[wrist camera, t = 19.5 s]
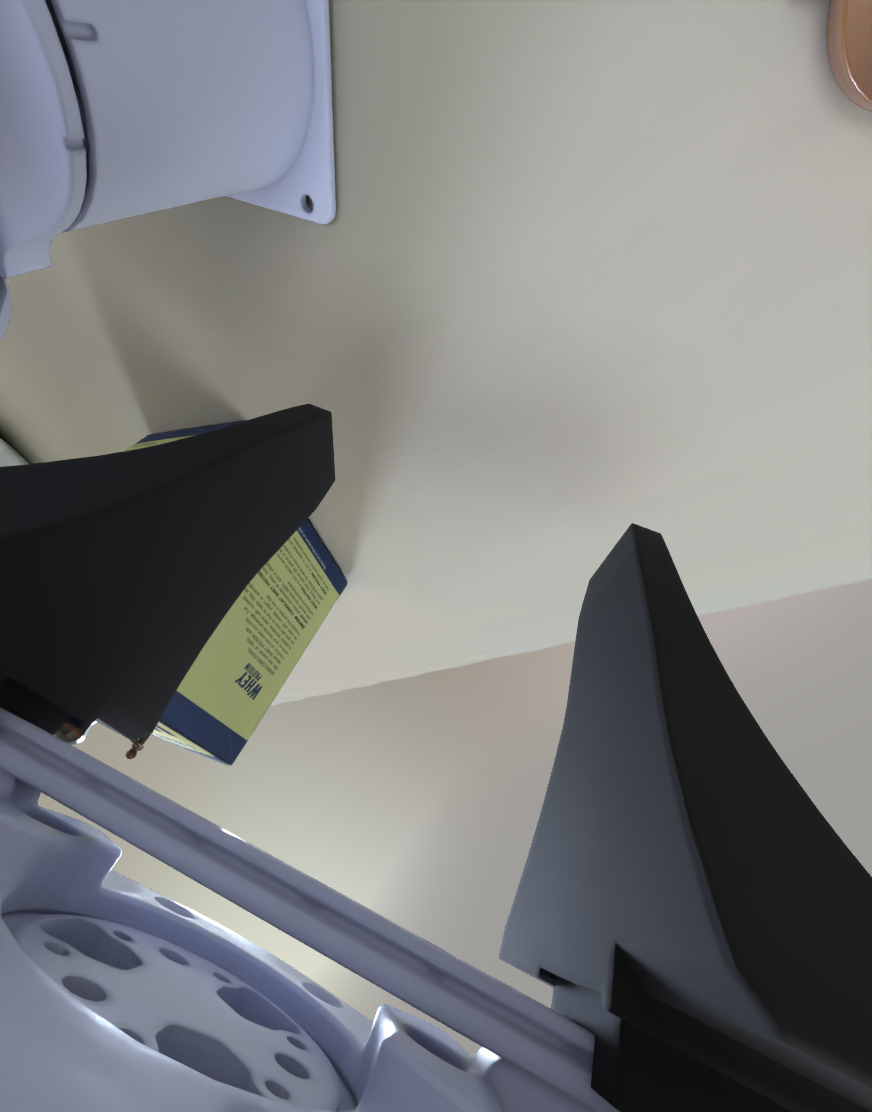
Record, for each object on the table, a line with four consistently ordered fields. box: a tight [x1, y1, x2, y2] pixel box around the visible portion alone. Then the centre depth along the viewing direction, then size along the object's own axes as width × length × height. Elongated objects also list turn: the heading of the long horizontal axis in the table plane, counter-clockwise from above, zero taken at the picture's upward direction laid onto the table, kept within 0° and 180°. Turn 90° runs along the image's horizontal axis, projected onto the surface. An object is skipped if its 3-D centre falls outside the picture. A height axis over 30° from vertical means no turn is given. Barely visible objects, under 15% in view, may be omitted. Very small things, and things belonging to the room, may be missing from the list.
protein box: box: [125, 421, 347, 766], centre depth 27 cm, size 10×16×16 cm
